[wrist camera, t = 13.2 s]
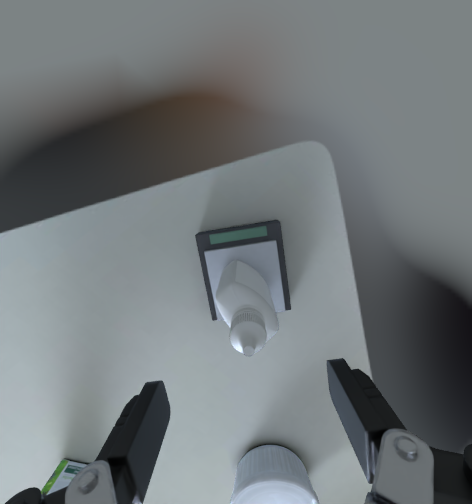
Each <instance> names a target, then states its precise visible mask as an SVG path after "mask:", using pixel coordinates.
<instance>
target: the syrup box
mask: <svg viewBox="0 0 472 504" xmlns="http://www.w3.org/2000/svg"><path fill="white" fill-rule="evenodd" d="M85 466H87V465H86V464H82V463H77V462H72V461H69V460H65V459H64V460H62V461H61V463H60V464H59V466H58V467H57V469H56V470H55V471H54V473H53V474H52V476H51V477H50V479H49V480H48V482H47V483H46V485H45V486H44V488H43V489H42V491H41V493H42V496H43V497H44V496H46V495H48V494H50V493H53V492H55V491H57V490H60V489H62V488H64V487H67V486H68V485H69V483H70V482H71V480H72V479H73V478H74V476H75V475H76V474H77V473H78V472H79V471H80V470H81V469H82V468H84V467H85Z"/></svg>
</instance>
